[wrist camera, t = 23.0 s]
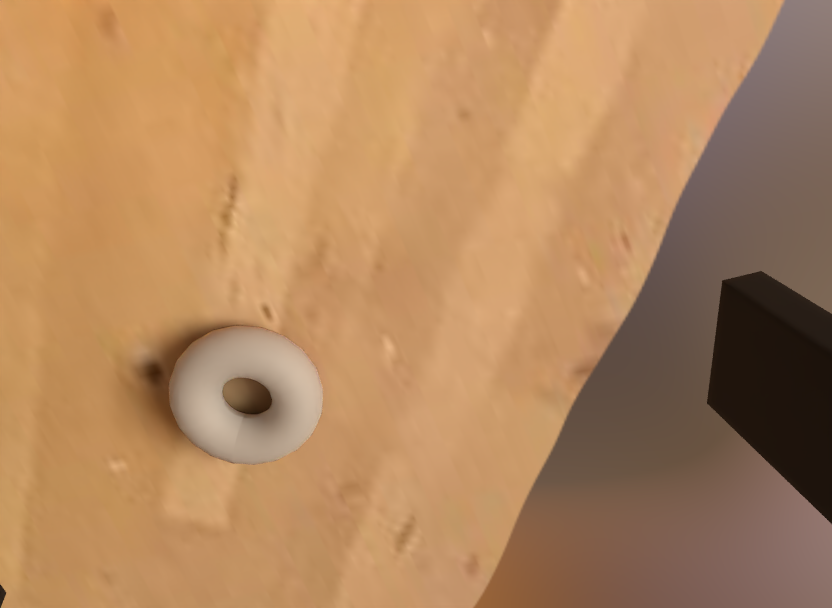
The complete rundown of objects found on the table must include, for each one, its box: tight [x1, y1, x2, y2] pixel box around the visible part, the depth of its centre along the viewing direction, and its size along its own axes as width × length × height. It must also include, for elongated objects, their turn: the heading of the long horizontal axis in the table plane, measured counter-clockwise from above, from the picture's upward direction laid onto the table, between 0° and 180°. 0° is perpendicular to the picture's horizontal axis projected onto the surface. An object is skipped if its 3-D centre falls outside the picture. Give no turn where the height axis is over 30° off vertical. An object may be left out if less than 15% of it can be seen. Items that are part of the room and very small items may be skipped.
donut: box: [169, 325, 323, 465], centre depth 42 cm, size 10×4×10 cm
